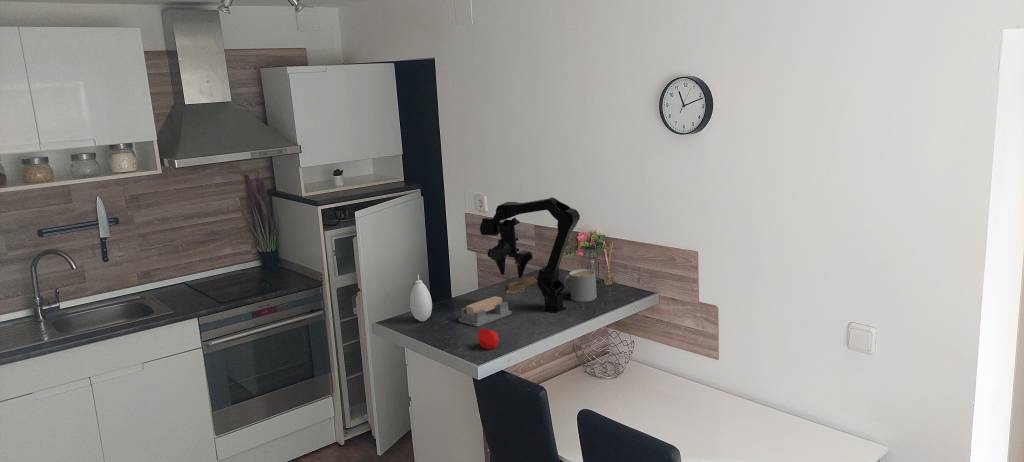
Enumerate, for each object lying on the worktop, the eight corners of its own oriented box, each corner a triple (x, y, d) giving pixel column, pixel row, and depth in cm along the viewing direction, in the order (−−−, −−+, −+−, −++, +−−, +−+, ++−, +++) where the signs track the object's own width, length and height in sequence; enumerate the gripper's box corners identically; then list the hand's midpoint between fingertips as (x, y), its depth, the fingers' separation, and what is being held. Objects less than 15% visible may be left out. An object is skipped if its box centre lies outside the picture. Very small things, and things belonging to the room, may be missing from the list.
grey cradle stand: (511, 313, 272) (510, 302, 271) (477, 326, 260) (475, 314, 259) (493, 308, 279) (492, 297, 278) (459, 321, 268) (458, 309, 267)
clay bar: (502, 305, 272) (502, 297, 271) (473, 315, 263) (473, 307, 262) (495, 303, 275) (494, 296, 274) (466, 313, 266) (466, 305, 265)
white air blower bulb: (427, 324, 266) (422, 277, 262) (408, 323, 269) (403, 276, 265) (436, 317, 273) (432, 271, 270) (418, 316, 276) (413, 270, 272)
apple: (503, 332, 237) (489, 319, 242) (486, 341, 234) (472, 327, 239) (503, 347, 241) (490, 334, 246) (486, 357, 238) (473, 343, 243)
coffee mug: (601, 297, 283) (600, 272, 281) (582, 303, 277) (581, 277, 275) (578, 290, 294) (577, 266, 291) (559, 296, 288) (558, 271, 286)
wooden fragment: (519, 295, 294) (519, 292, 294) (495, 293, 299) (495, 291, 299) (545, 277, 316) (545, 275, 316) (523, 276, 321) (522, 274, 321)
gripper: (475, 238, 275) (479, 278, 279) (510, 243, 262) (514, 285, 266) (496, 232, 283) (499, 271, 286) (531, 236, 270) (535, 277, 273)
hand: (511, 276), depth 278 cm, fingers open, 9 cm apart
